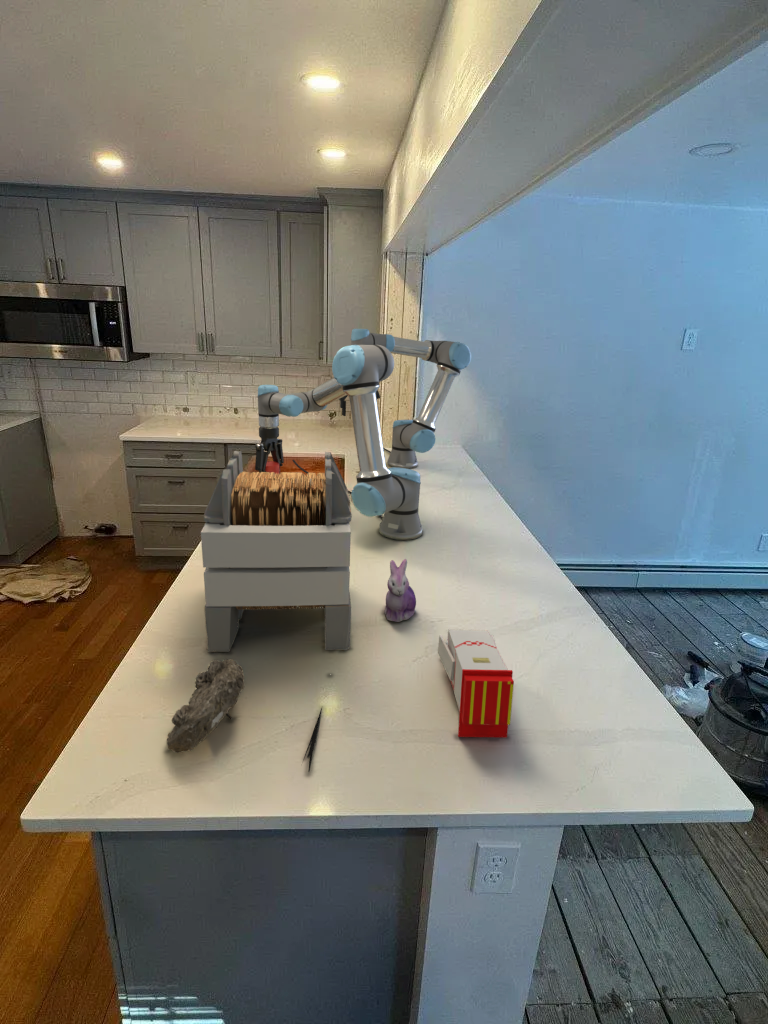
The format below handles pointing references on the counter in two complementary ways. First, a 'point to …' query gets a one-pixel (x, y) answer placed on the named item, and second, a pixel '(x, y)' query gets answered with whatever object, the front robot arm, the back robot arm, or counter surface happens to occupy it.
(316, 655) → the counter surface
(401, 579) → the figurine
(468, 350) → the back robot arm
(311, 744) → the feather
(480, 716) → the toy
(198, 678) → the fossil
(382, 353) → the front robot arm
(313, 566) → the grey boxy piece
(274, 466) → the can
